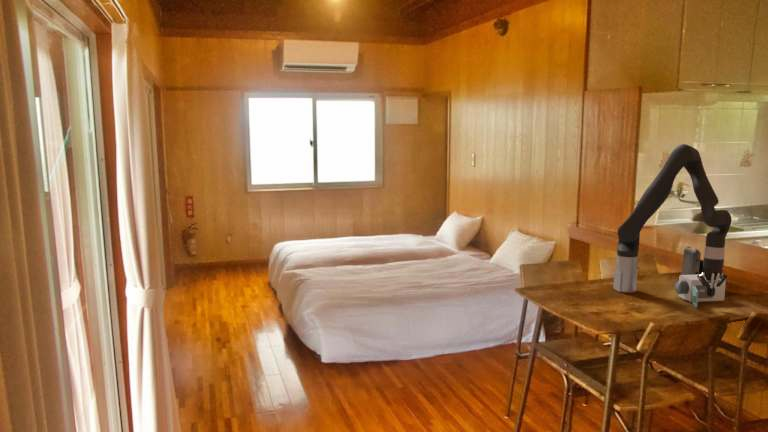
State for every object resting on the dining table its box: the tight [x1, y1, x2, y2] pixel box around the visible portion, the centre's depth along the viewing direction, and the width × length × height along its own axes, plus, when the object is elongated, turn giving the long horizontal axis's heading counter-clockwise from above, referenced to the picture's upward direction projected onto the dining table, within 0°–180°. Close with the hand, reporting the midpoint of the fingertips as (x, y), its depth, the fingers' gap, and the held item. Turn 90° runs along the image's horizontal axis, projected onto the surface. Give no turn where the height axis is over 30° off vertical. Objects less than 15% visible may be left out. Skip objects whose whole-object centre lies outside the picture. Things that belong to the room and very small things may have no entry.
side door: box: [691, 285, 699, 308], centre depth 243 cm, size 11×2×7 cm, turn 158°
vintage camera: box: [680, 246, 704, 275], centre depth 270 cm, size 10×15×20 cm, turn 89°
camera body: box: [674, 274, 727, 303], centre depth 253 cm, size 19×9×11 cm, turn 95°
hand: (710, 296), depth 239 cm, fingers closed
